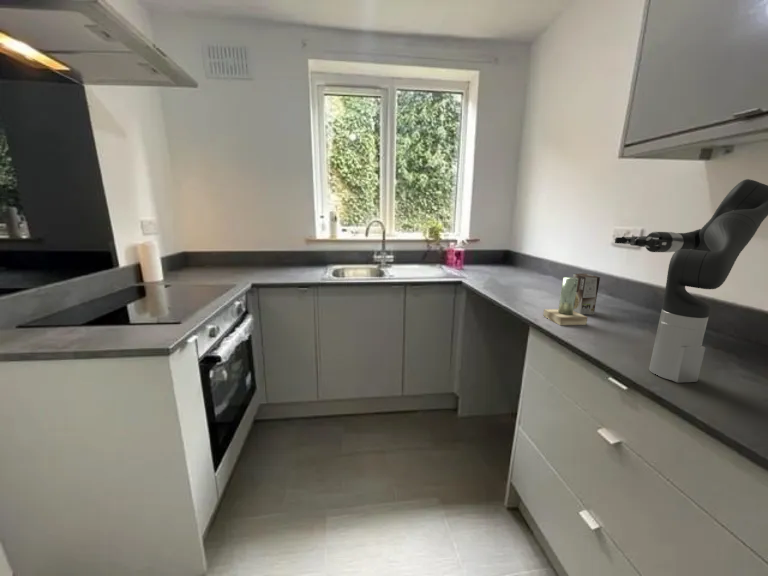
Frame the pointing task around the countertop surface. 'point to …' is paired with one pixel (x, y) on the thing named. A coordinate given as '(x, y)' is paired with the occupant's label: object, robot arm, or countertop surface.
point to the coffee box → (586, 293)
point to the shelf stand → (565, 317)
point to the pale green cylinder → (568, 295)
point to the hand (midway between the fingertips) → (624, 241)
